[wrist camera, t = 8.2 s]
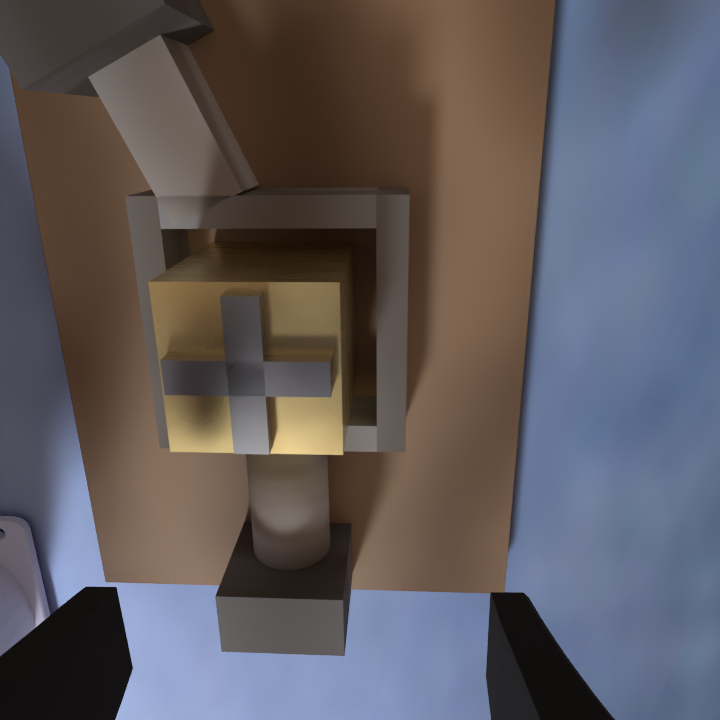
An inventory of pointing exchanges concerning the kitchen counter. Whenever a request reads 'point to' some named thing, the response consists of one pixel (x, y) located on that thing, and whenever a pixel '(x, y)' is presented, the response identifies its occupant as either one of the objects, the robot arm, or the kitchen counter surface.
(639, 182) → the kitchen counter surface
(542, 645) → the robot arm
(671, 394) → the kitchen counter surface
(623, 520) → the kitchen counter surface
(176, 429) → the gold square block
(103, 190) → the coupling base
